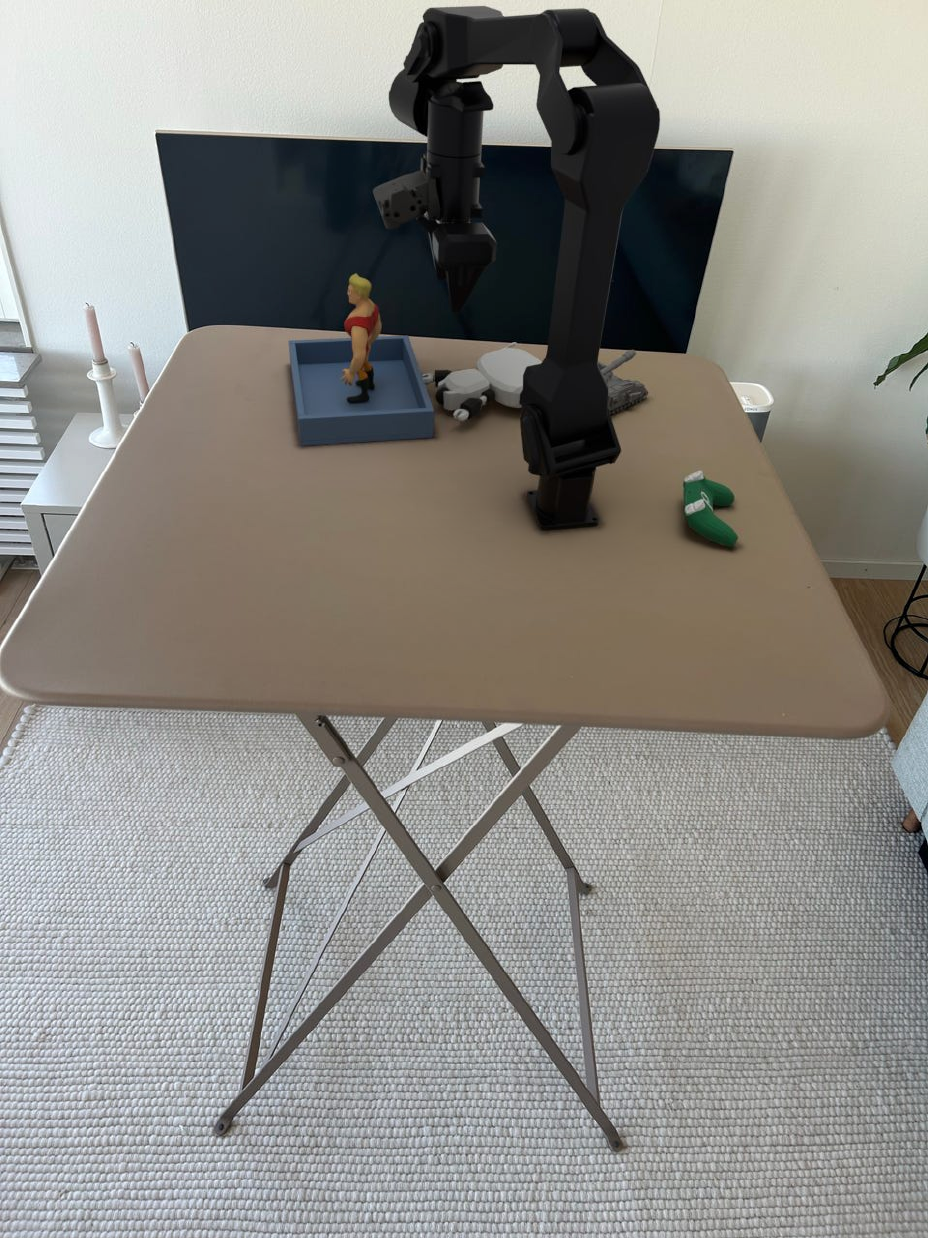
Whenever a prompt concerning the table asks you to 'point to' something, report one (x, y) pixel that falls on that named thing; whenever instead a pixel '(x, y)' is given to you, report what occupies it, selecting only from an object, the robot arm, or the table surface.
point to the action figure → (361, 336)
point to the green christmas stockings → (707, 508)
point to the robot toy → (483, 382)
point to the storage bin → (391, 406)
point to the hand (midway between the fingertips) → (448, 295)
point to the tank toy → (621, 385)
